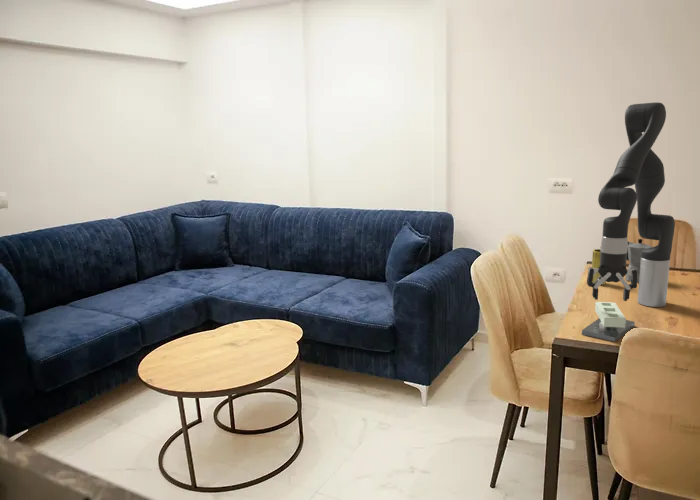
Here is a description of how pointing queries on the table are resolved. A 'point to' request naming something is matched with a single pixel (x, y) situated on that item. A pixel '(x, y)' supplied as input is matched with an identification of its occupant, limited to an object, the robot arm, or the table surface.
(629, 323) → the base
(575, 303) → the table surface
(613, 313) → the flange bar
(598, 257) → the vase
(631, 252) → the coffeepot
